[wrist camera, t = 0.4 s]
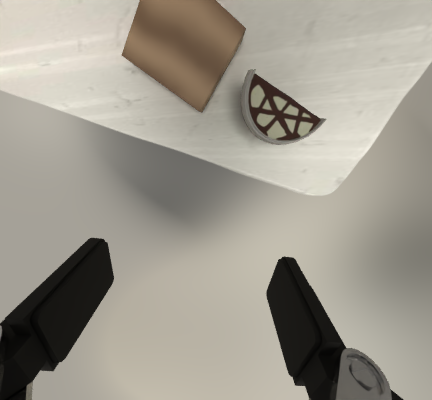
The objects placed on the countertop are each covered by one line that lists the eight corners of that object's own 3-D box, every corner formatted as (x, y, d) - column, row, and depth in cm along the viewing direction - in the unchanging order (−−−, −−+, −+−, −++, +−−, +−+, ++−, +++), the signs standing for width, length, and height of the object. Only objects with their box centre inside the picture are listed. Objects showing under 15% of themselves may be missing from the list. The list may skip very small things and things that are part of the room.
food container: (222, 117, 31) (225, 117, 22) (240, 82, 29) (251, 66, 20) (276, 150, 34) (298, 162, 25) (297, 120, 32) (329, 121, 23)
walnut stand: (166, -27, 24) (157, -54, 20) (241, 40, 27) (245, 28, 23) (133, 63, 28) (121, 55, 24) (201, 112, 31) (199, 111, 27)
